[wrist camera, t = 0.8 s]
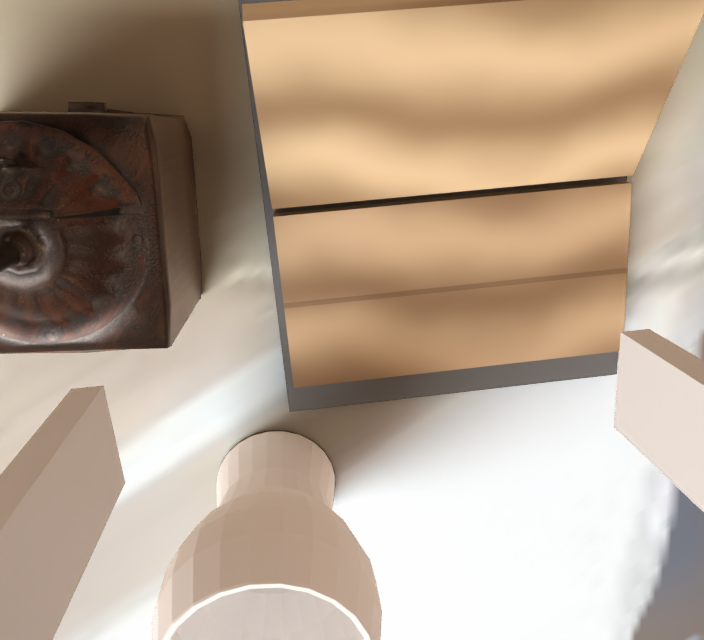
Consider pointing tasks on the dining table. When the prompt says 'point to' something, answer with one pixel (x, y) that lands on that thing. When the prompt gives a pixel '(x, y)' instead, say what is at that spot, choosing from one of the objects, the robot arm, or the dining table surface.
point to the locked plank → (454, 281)
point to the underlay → (426, 381)
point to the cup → (270, 555)
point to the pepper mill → (96, 230)
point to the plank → (457, 92)
